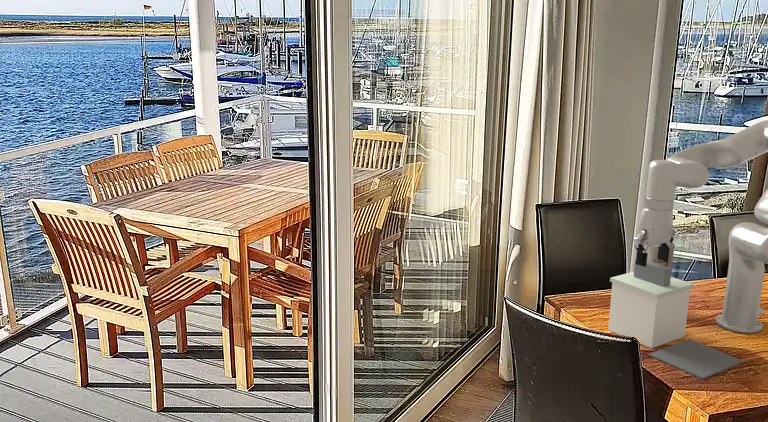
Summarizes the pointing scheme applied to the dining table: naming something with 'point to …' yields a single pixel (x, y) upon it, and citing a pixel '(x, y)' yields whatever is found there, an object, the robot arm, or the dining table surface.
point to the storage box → (648, 315)
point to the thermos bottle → (654, 254)
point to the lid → (652, 280)
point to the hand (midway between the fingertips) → (651, 262)
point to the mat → (696, 358)
